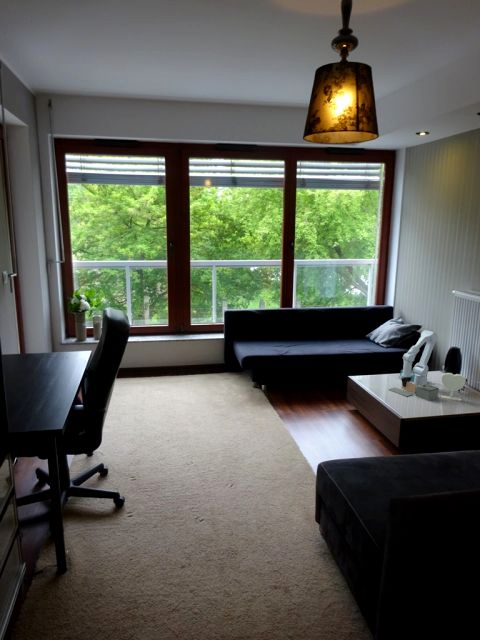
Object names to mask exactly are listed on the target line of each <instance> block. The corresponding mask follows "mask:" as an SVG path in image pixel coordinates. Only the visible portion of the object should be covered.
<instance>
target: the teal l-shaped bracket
mask: <svg viewBox="0 0 480 640" xmlns="http://www.w3.org/2000/svg"><path fill="white" fill-rule="evenodd" d="M402 373H403V369H401V370H400V374H399V376H400V375H402ZM411 373H413V369H411ZM413 374H414V373H413ZM426 377H427V378H428V374H427V375H426ZM411 378H412V379H411V380H410V382H411V383H414V378H415V375H413V376H411Z"/></svg>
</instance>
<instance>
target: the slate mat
mask: <svg viewBox="0 0 480 640" xmlns="http://www.w3.org/2000/svg"><path fill="white" fill-rule="evenodd" d="M388 391H389V392H393V393H396V394H398V395H401V396H404V397H406V398H407V397H411V396H414V393H413V392H410V391H407V390H405V389H402V388H398V387H391V388H388Z"/></svg>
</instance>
